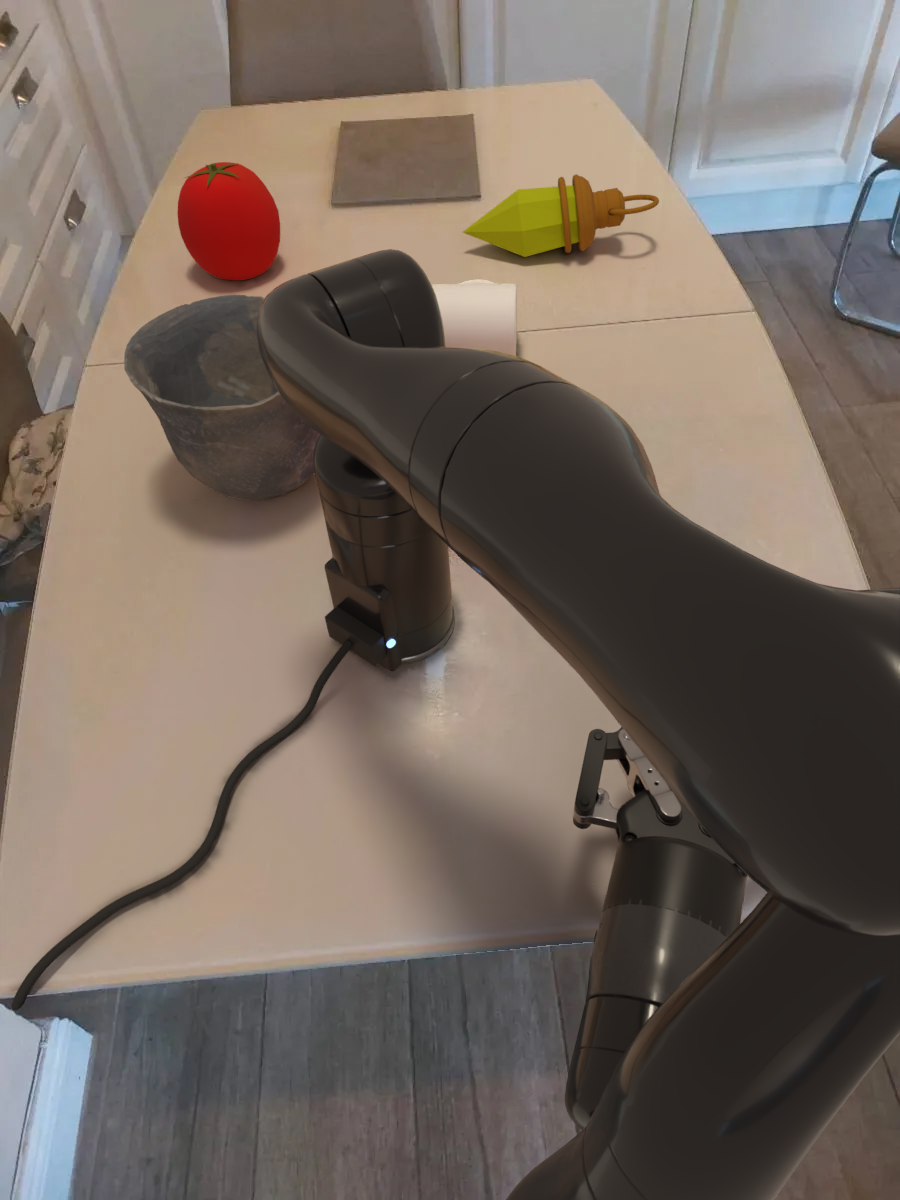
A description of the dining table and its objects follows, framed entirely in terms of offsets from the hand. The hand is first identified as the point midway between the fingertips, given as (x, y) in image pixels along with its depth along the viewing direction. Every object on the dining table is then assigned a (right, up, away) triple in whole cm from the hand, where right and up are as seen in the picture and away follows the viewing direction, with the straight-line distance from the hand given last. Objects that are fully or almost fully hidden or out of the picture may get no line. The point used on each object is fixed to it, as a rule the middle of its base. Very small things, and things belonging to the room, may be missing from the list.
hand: (710, 709), depth 61 cm
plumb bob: (-3, +53, +59) cm, 79 cm away
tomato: (-45, +50, +59) cm, 89 cm away
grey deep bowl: (-37, +20, +33) cm, 54 cm away
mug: (-15, +37, +46) cm, 61 cm away
